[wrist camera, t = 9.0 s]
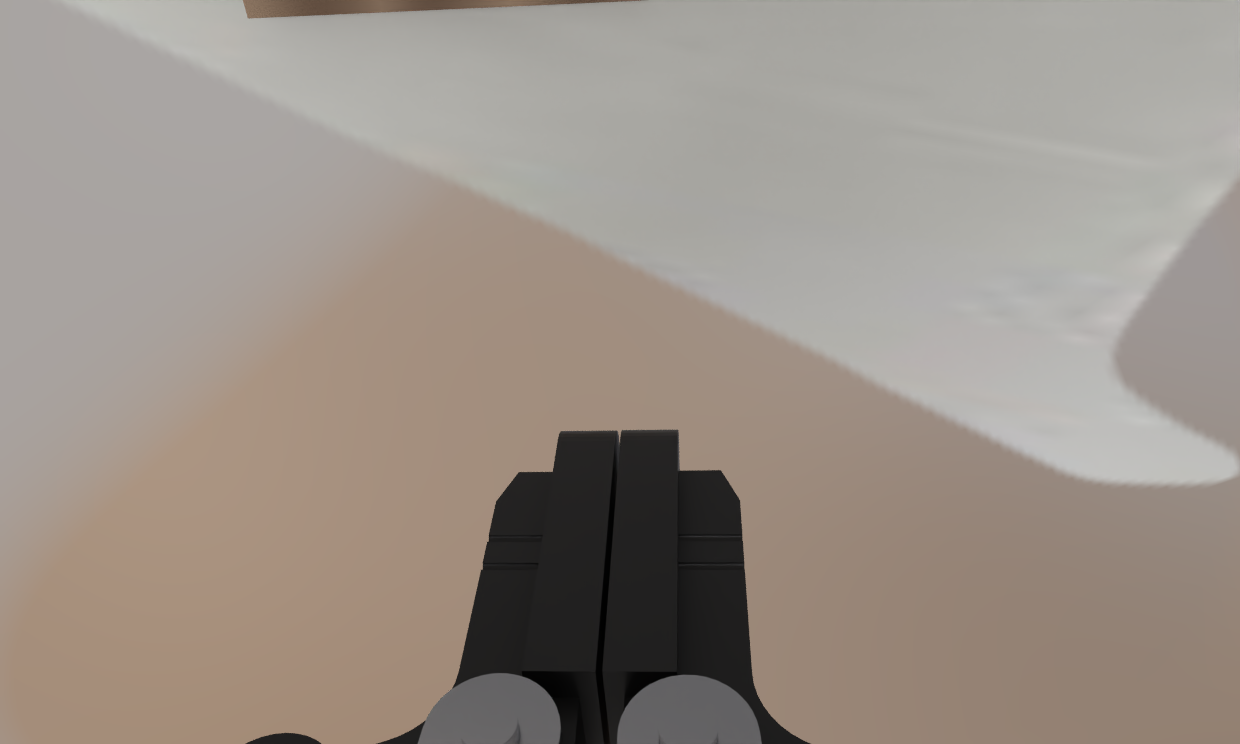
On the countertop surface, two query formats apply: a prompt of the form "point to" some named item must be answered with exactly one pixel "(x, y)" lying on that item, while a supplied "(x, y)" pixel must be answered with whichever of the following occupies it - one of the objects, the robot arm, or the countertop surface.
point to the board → (380, 6)
